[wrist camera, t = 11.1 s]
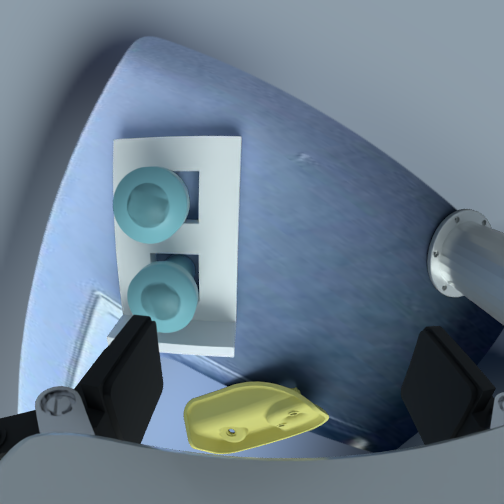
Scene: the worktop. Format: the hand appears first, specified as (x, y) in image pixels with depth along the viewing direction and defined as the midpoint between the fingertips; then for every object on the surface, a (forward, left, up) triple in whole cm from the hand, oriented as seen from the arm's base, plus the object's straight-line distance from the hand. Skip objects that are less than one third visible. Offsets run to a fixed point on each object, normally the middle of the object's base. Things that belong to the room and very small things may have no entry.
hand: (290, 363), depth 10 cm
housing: (+9, +2, -27) cm, 28 cm away
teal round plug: (+10, -3, -27) cm, 29 cm away
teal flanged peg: (+9, +6, -27) cm, 29 cm away
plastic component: (-1, +29, -27) cm, 40 cm away
